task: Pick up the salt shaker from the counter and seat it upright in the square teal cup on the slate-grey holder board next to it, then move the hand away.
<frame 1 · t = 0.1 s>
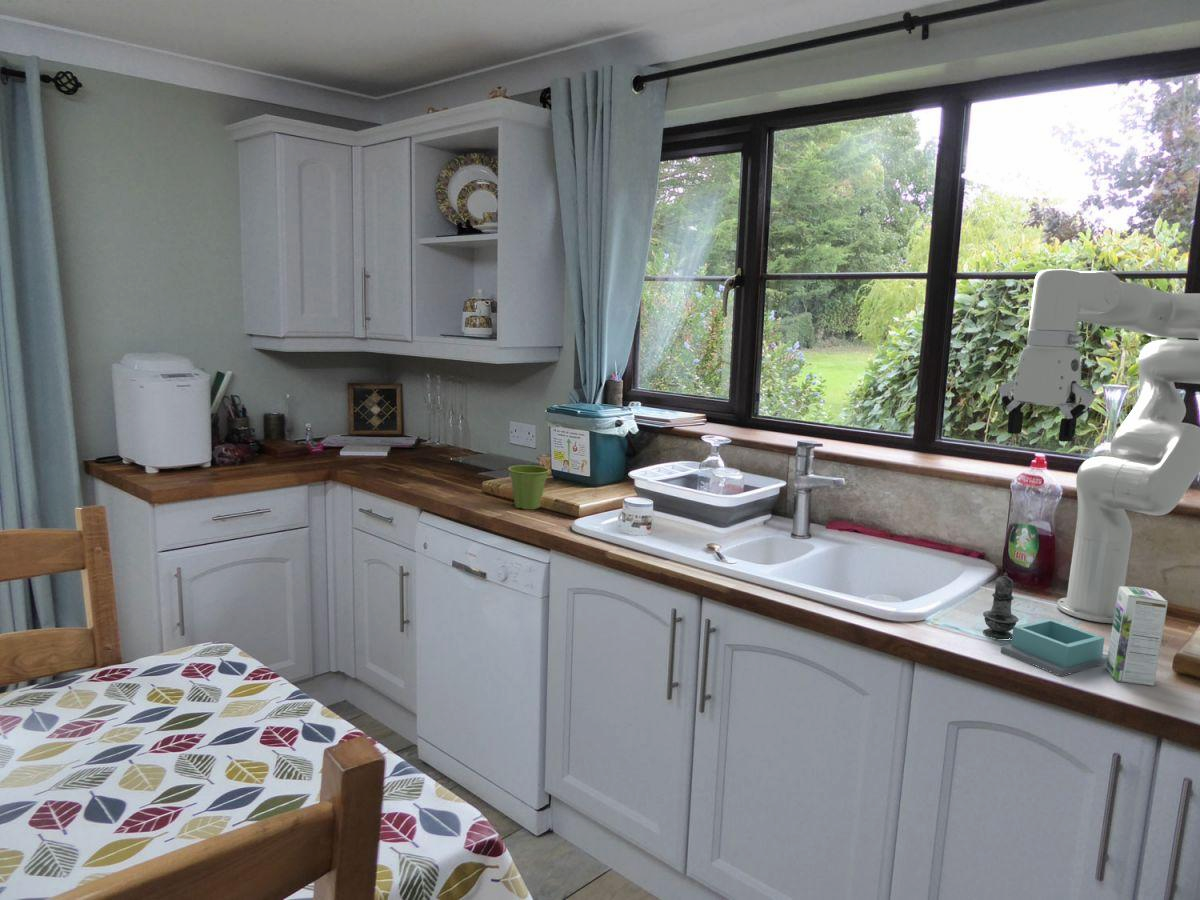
hand: (1039, 437, 150), 37 cm above the countertop, tool pointing down, fingers open, 9 cm apart
syrup box: (1129, 678, 137), on the countertop
plant pot: (528, 507, 241), on the countertop
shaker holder: (1055, 656, 144), on the countertop
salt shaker: (998, 635, 154), on the countertop
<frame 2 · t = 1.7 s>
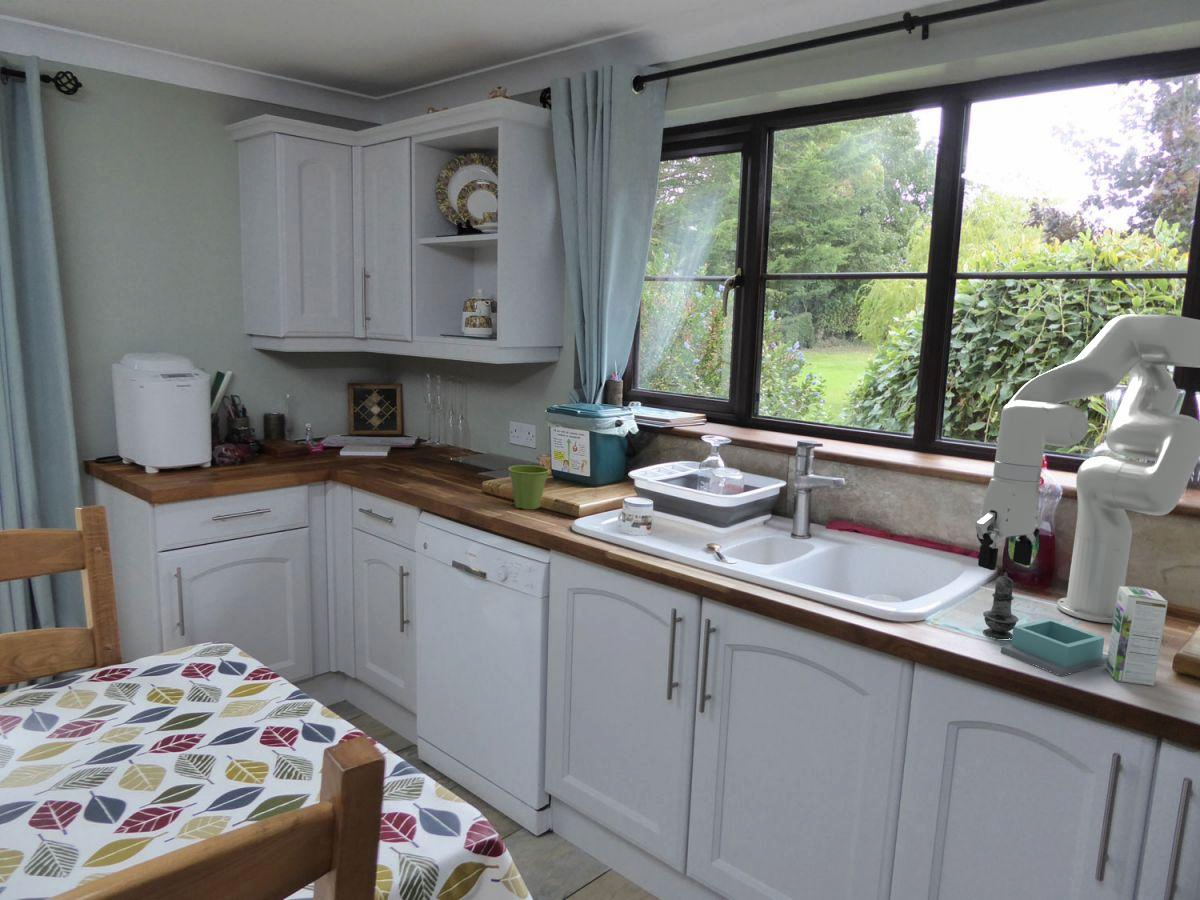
hand: (1004, 565, 151), 13 cm above the countertop, tool pointing down, fingers open, 9 cm apart
nothing on the countertop moved.
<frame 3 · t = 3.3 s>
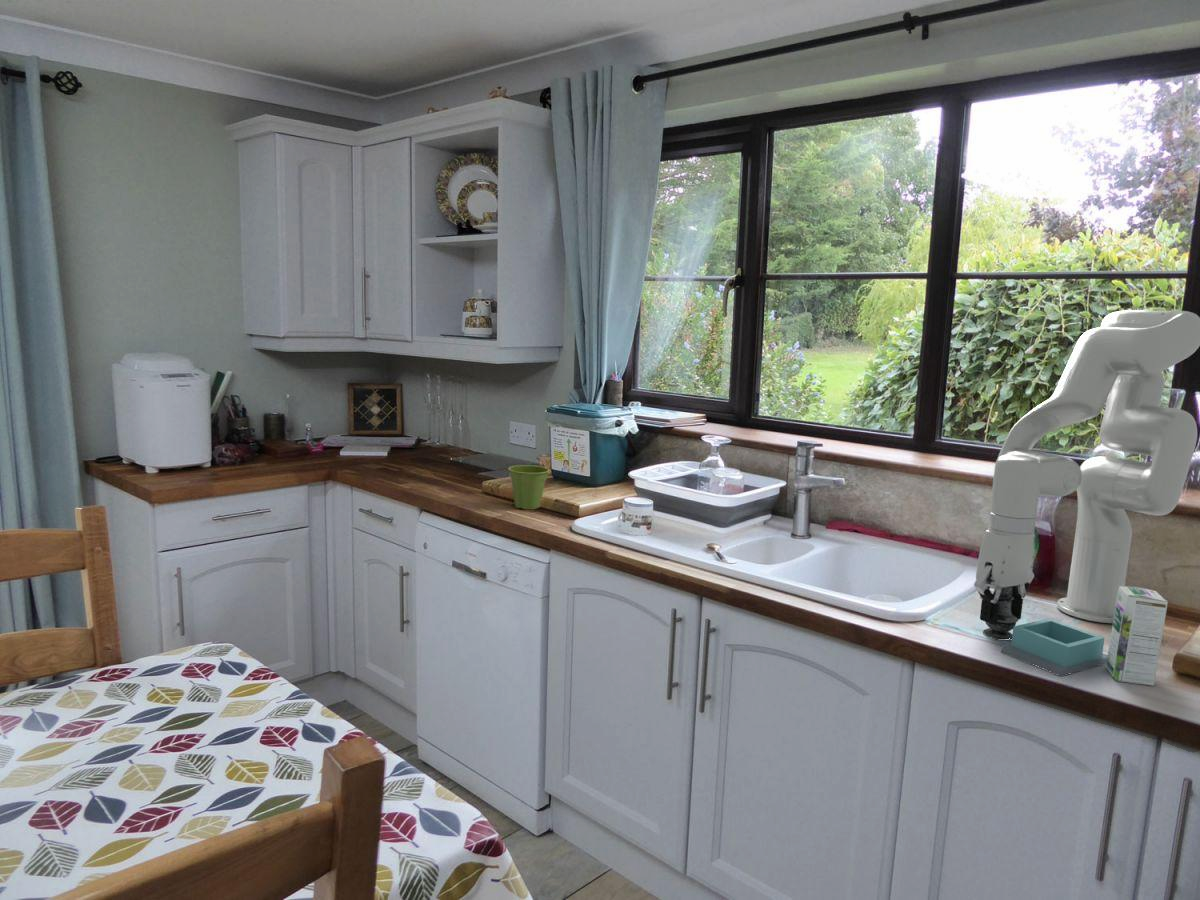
hand: (1000, 618, 153), 3 cm above the countertop, tool pointing down, fingers closed on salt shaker, 5 cm apart
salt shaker: (998, 635, 154), on the countertop, touching gripper
everything else where it was.
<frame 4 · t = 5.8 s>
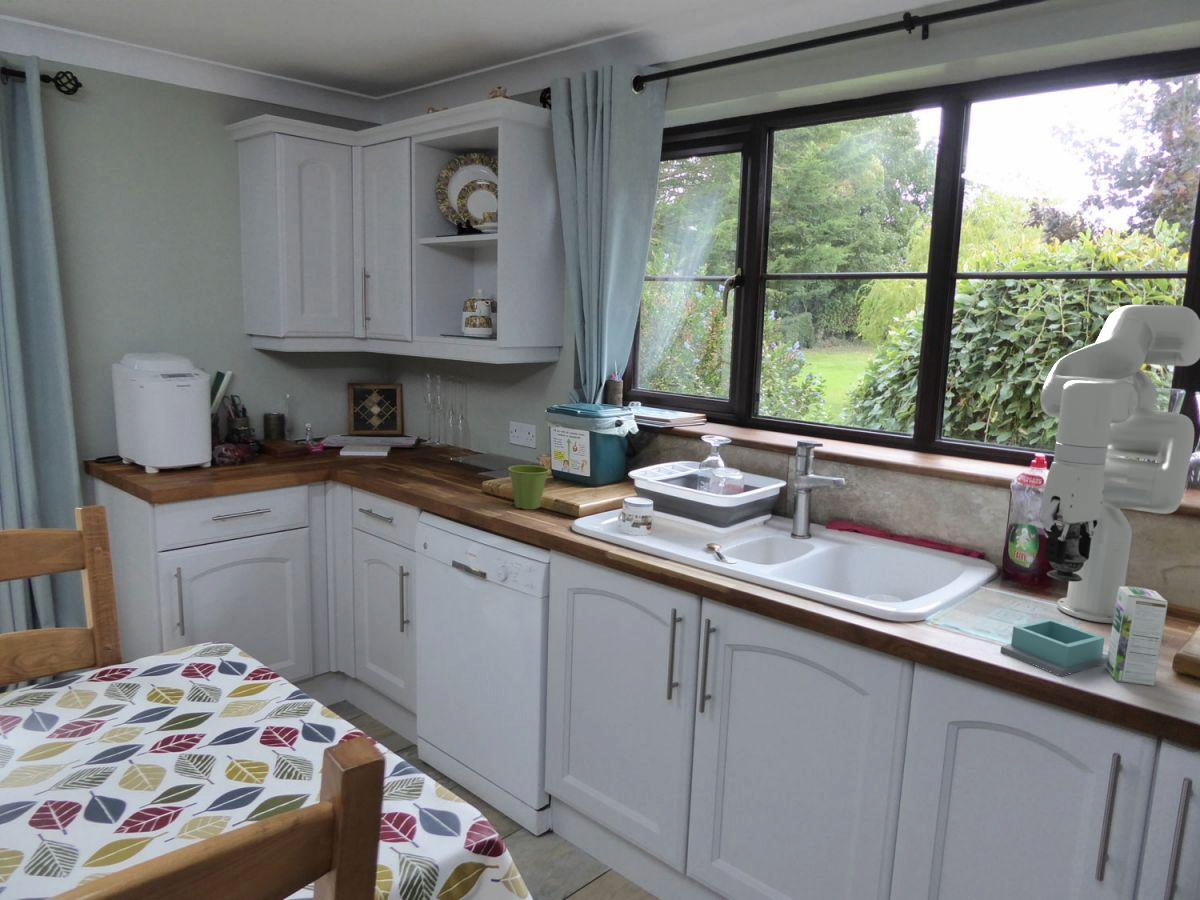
hand: (1066, 558, 142), 17 cm above the countertop, tool pointing down, fingers closed on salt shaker, 5 cm apart
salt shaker: (1064, 577, 142), point 14 cm above the countertop, touching gripper
everything else where it was.
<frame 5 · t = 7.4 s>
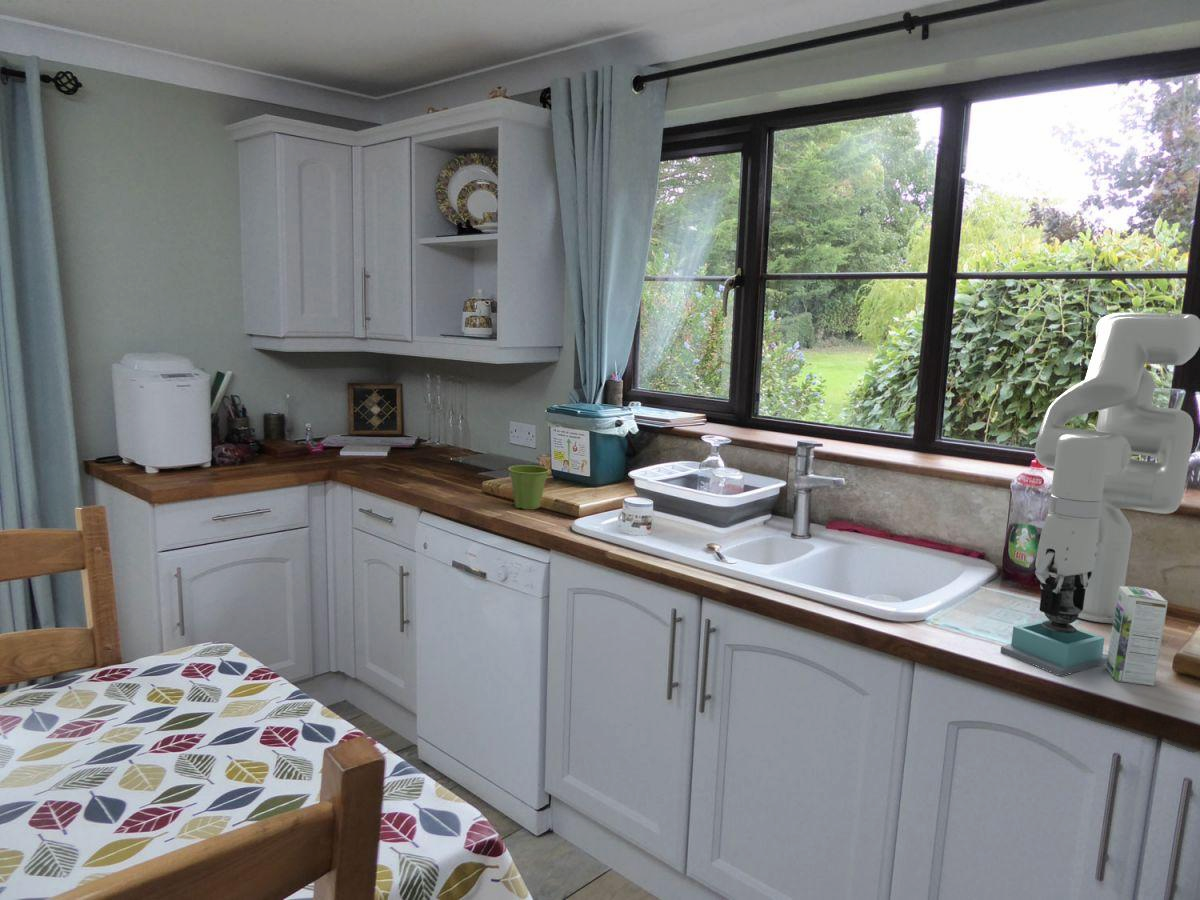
hand: (1061, 610, 143), 9 cm above the countertop, tool pointing down, fingers closed on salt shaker, 5 cm apart
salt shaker: (1058, 628, 143), point 5 cm above the countertop, touching gripper
everything else where it was.
when the fingers open (6 cm above the countertop, at t = 8.4 s): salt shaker drops 2 cm, resting on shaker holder.
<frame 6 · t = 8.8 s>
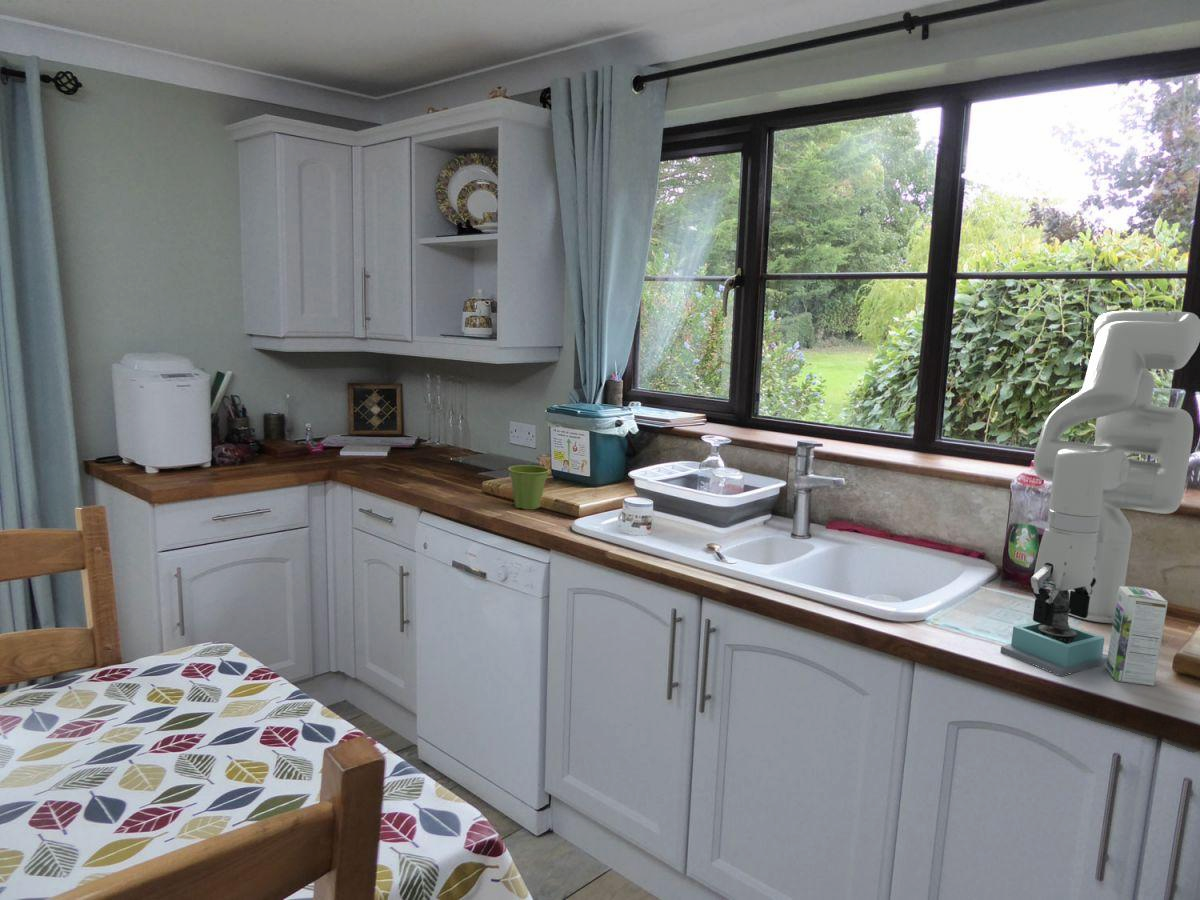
hand: (1060, 619, 143), 7 cm above the countertop, tool pointing down, fingers open, 9 cm apart
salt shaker: (1055, 651, 144), point 1 cm above the countertop, touching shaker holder
everything else where it was.
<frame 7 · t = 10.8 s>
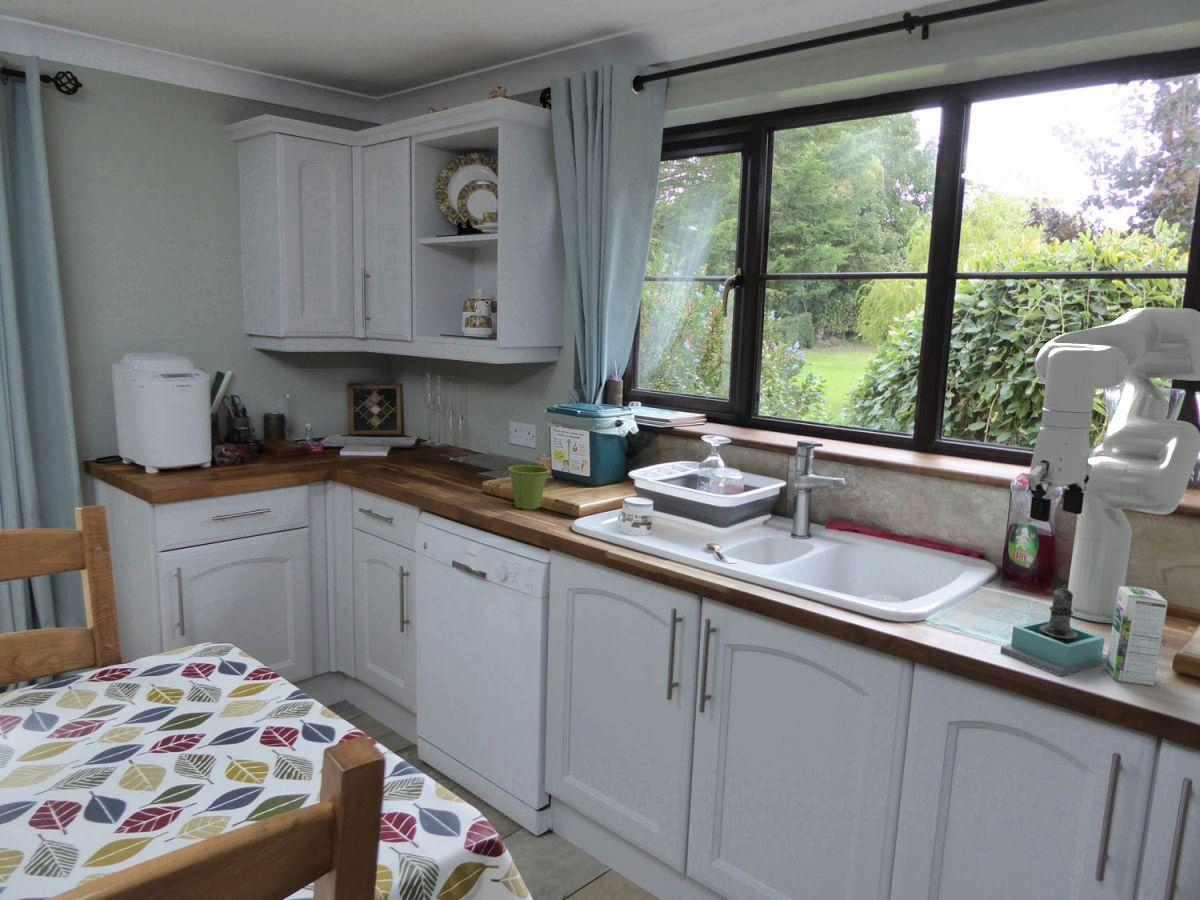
hand: (1055, 516, 147), 23 cm above the countertop, tool pointing down, fingers open, 9 cm apart
nothing on the countertop moved.
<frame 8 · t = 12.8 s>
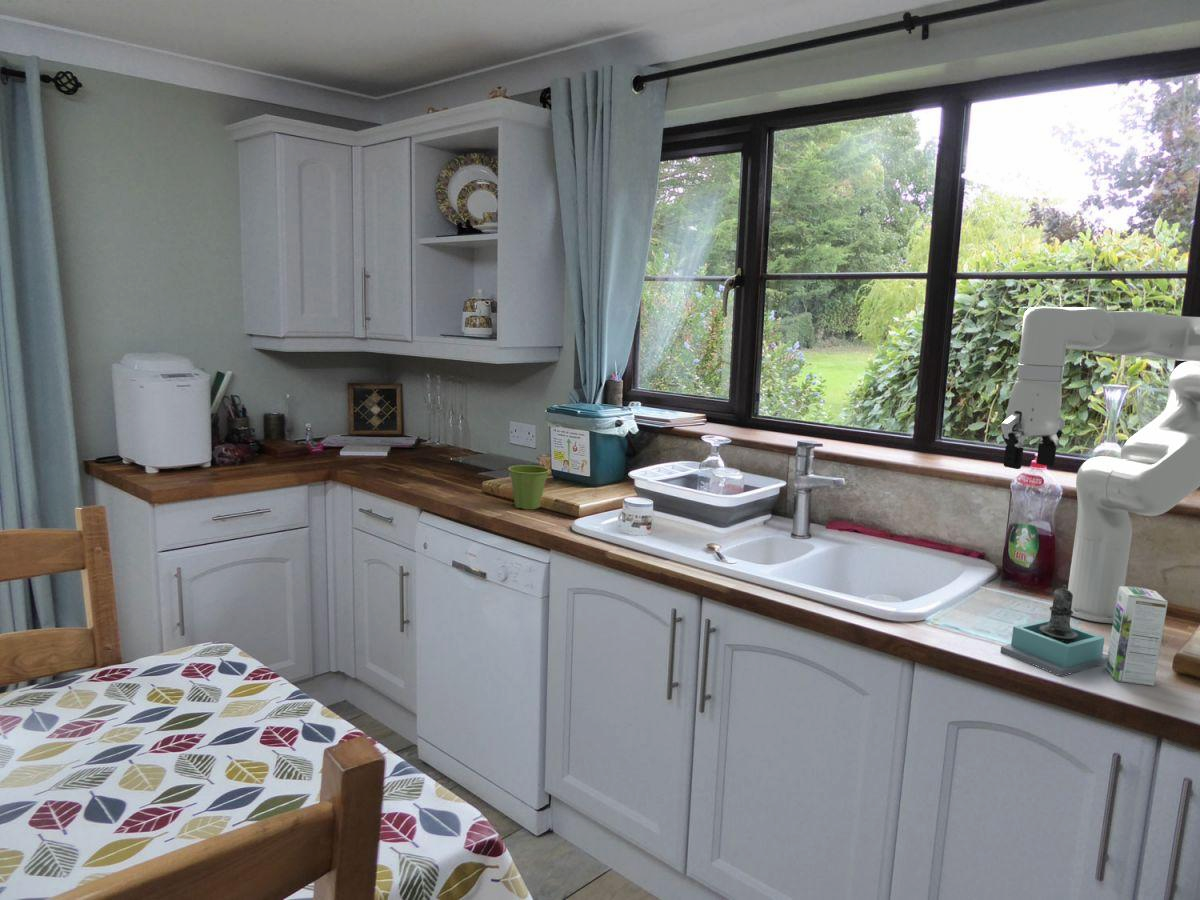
hand: (1028, 466, 157), 30 cm above the countertop, tool pointing down, fingers open, 9 cm apart
nothing on the countertop moved.
at the end: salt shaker 0.1 cm off-centre on the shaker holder, point 0.8 cm above the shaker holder's base; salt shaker tilted 0°; the gripper is holding nothing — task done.
